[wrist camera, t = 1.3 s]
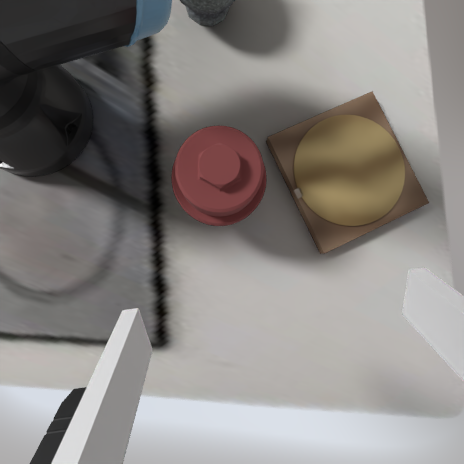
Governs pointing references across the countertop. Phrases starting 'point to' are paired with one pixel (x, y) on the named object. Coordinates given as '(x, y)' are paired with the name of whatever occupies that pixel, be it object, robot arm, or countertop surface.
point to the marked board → (346, 172)
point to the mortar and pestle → (207, 10)
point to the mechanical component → (219, 176)
